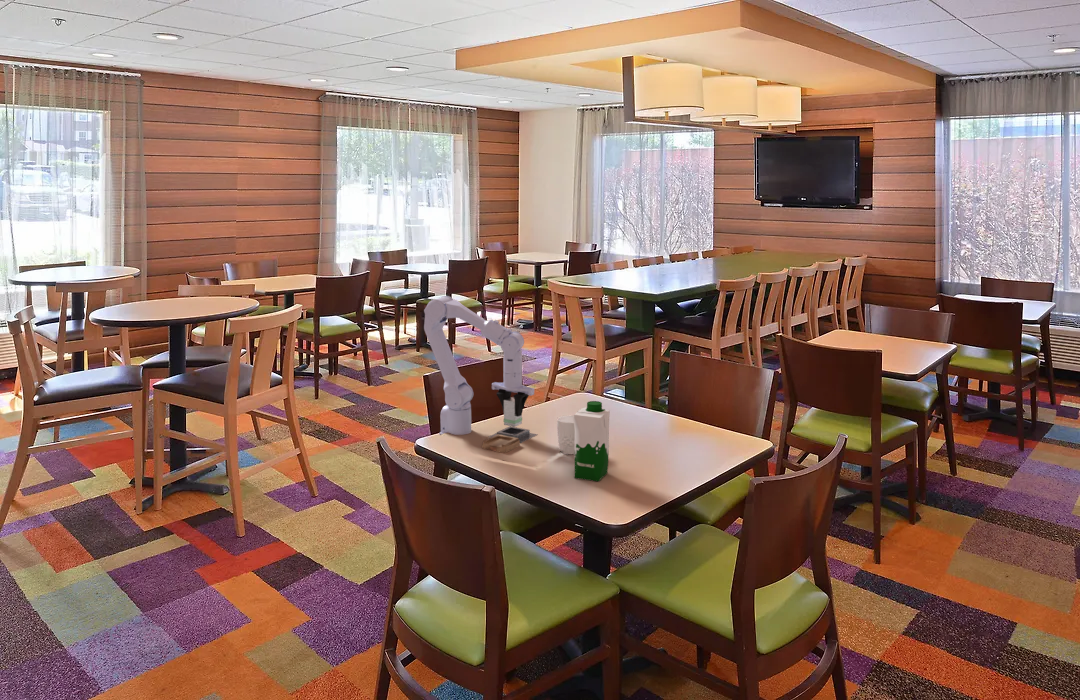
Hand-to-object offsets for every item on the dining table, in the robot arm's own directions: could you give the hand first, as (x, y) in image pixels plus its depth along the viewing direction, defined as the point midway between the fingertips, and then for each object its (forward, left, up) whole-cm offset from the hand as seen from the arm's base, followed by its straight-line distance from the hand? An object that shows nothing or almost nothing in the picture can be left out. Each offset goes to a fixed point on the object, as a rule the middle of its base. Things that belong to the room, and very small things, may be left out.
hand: (512, 414), depth 244 cm
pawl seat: (+3, -11, -8) cm, 14 cm away
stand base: (0, 0, -8) cm, 8 cm away
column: (0, 0, -3) cm, 3 cm away
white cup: (+21, -1, -8) cm, 23 cm away
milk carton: (+36, -16, -8) cm, 40 cm away
